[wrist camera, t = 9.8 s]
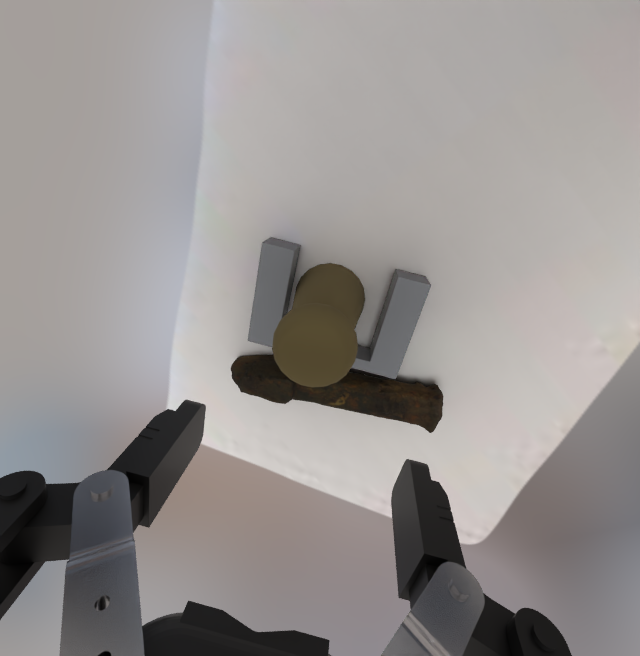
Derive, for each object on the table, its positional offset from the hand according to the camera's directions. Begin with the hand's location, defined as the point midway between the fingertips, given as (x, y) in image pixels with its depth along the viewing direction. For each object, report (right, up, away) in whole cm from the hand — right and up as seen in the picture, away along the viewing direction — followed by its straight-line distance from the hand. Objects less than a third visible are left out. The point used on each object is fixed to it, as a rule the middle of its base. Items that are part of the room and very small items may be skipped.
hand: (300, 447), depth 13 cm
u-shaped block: (+2, +7, +16) cm, 18 cm away
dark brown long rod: (+2, 0, +20) cm, 20 cm away
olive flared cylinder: (+2, +7, +16) cm, 18 cm away
